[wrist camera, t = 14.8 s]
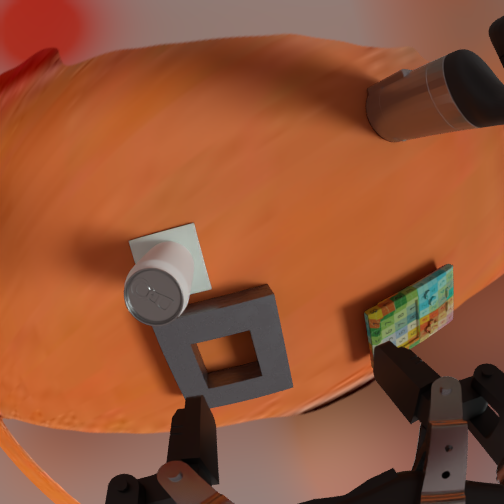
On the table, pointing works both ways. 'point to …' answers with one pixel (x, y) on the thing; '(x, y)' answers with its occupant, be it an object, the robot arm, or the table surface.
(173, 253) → the can
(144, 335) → the table surface
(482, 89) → the robot arm
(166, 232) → the mat
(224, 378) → the hollow block
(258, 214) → the table surface
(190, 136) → the table surface
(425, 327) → the puzzle game
